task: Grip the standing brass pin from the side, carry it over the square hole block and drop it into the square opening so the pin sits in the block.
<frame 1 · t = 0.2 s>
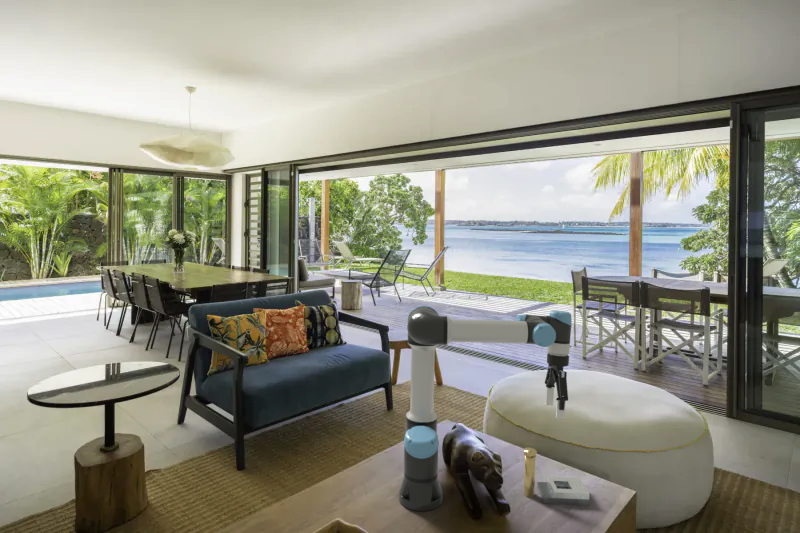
hand: (554, 411, 168), 27 cm above the table, tool pointing down, fingers open, 13 cm apart
brass pin: (528, 494, 162), on the table
square hole block: (562, 495, 161), on the table
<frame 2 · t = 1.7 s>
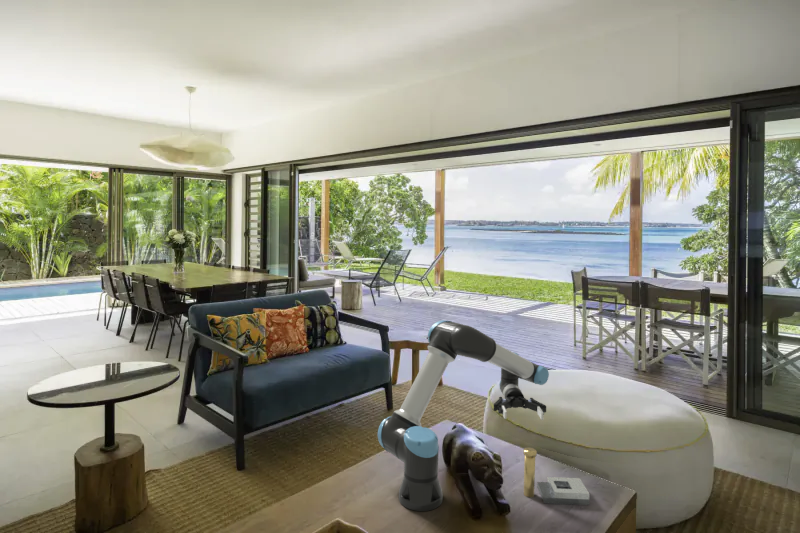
hand: (524, 416, 172), 24 cm above the table, tool horizontal, fingers open, 13 cm apart
nothing on the table moved.
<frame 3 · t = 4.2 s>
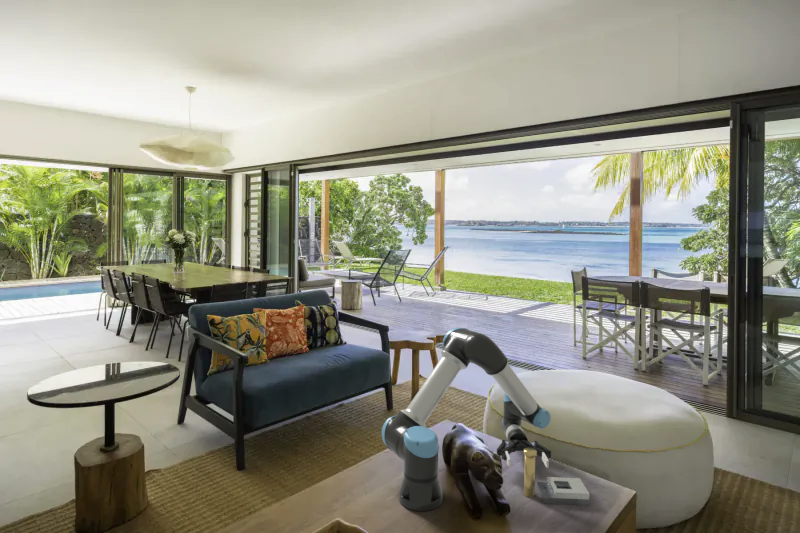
hand: (528, 463, 166), 9 cm above the table, tool horizontal, fingers open, 13 cm apart
nothing on the table moved.
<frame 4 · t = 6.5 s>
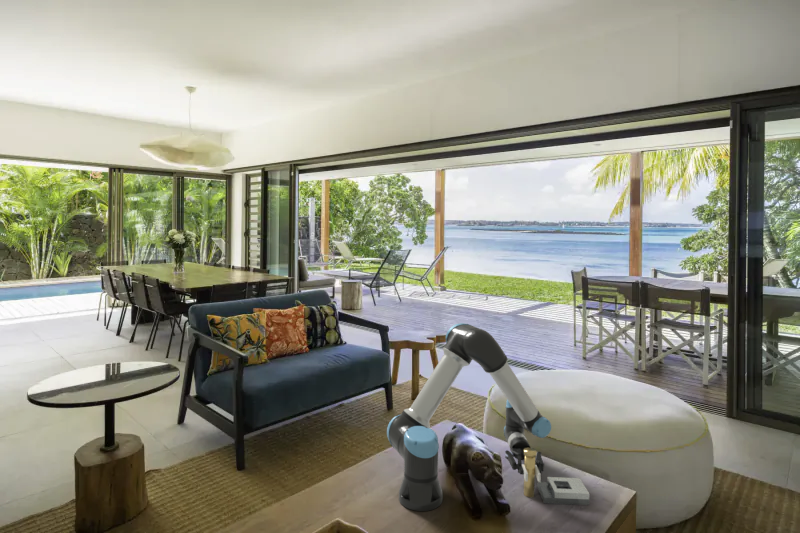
hand: (533, 477, 156), 9 cm above the table, tool horizontal, fingers closed on brass pin, 3 cm apart
brass pin: (528, 494, 162), on the table, touching gripper
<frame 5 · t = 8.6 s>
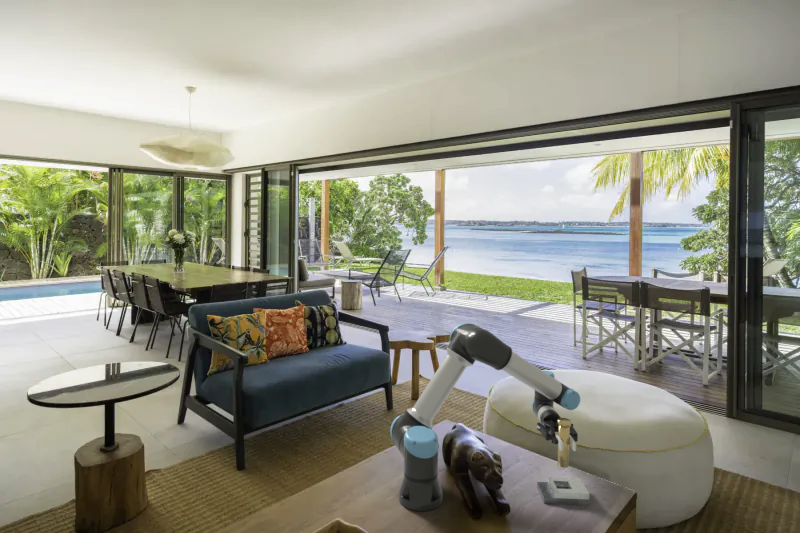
hand: (568, 447, 155), 20 cm above the table, tool horizontal, fingers closed on brass pin, 3 cm apart
brass pin: (563, 464, 161), point 11 cm above the table, touching gripper
when the fingers open (10 cm above the table, at t = 11.1 s): brass pin stays where it is, resting in square hole block.
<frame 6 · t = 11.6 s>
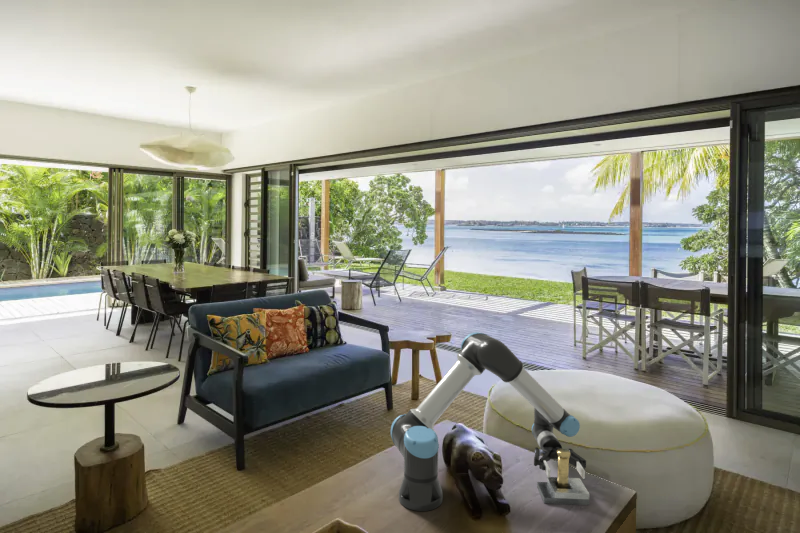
hand: (566, 474, 157), 10 cm above the table, tool horizontal, fingers open, 11 cm apart
brass pin: (562, 495, 161), resting in square hole block
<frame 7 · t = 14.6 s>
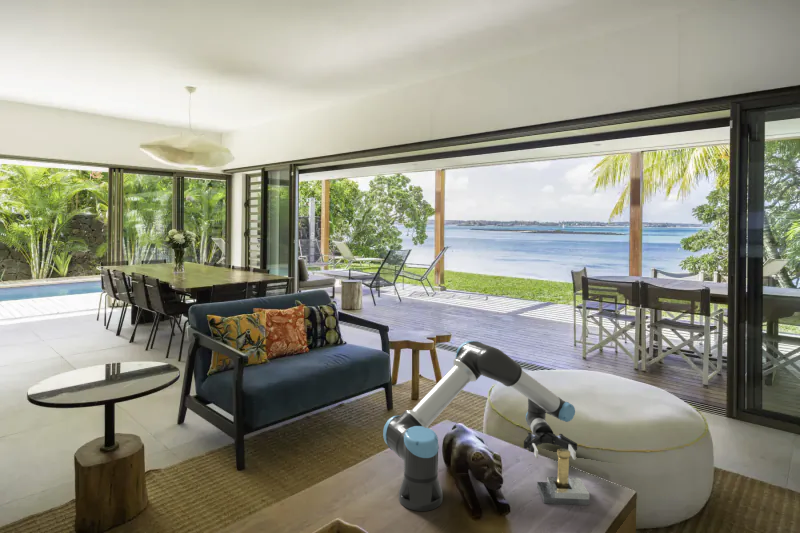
hand: (555, 455, 170), 10 cm above the table, tool horizontal, fingers open, 13 cm apart
nothing on the table moved.
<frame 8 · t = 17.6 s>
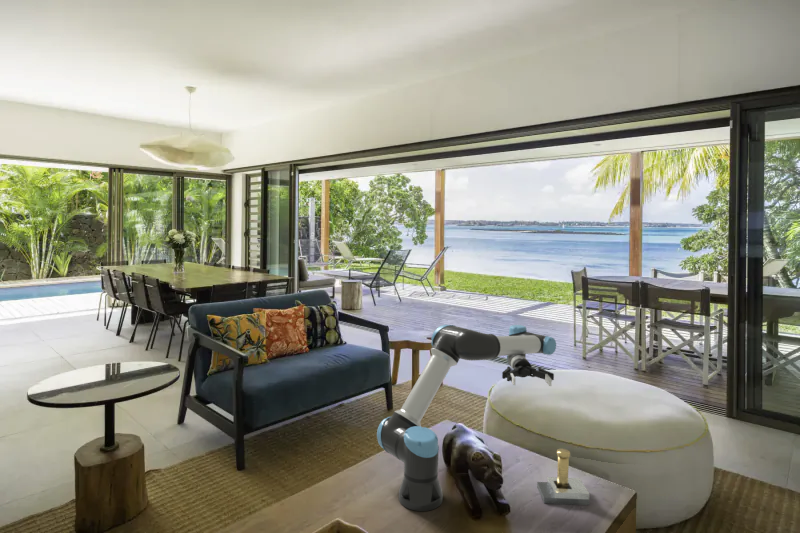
hand: (532, 382, 176), 35 cm above the table, tool horizontal, fingers open, 13 cm apart
nothing on the table moved.
at the end: brass pin 0.0 cm off-centre on the square hole block, point 0.0 cm above the square hole block's base; brass pin tilted 0°; the gripper is holding nothing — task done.
